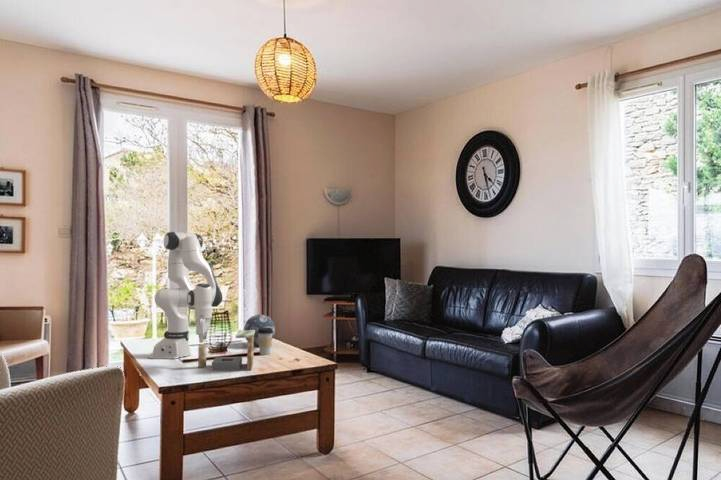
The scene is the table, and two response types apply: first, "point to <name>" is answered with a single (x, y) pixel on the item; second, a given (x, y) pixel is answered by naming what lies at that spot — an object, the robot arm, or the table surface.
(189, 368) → the table surface
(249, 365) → the awning
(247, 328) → the decorative ball
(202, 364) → the beech peg
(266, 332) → the coffee cup
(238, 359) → the socket
